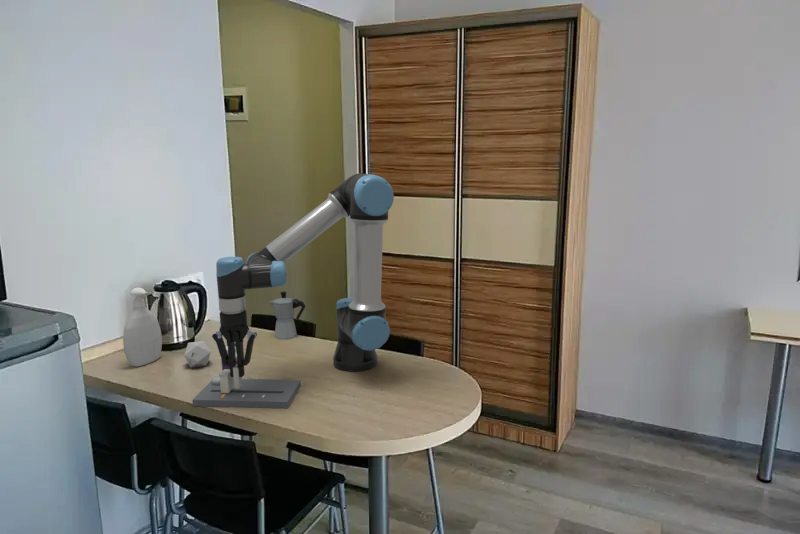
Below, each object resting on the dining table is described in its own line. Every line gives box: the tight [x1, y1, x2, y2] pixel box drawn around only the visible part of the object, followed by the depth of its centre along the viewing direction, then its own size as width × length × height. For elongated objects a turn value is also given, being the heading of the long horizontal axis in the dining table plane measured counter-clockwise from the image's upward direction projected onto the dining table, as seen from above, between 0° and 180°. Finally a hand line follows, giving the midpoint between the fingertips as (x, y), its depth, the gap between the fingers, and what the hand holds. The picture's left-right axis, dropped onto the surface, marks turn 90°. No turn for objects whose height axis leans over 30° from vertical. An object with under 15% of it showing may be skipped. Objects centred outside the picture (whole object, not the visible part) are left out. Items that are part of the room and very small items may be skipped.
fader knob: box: [218, 369, 234, 393], centre depth 177 cm, size 3×4×6 cm, turn 175°
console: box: [191, 375, 302, 409], centre depth 179 cm, size 28×16×4 cm, turn 85°
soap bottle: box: [122, 287, 163, 368], centre depth 204 cm, size 14×8×27 cm, turn 151°
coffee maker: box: [268, 290, 306, 340], centre depth 232 cm, size 15×9×18 cm, turn 80°
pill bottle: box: [221, 345, 238, 379], centre depth 193 cm, size 5×5×10 cm
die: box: [183, 340, 211, 369], centre depth 204 cm, size 8×9×10 cm
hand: (238, 386), depth 177 cm, fingers closed
